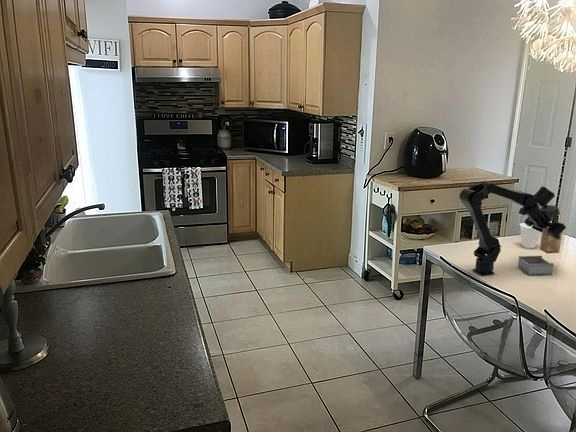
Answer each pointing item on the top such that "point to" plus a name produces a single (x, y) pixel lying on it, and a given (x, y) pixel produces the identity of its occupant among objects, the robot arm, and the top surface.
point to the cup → (529, 236)
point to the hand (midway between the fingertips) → (554, 236)
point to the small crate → (549, 242)
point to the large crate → (535, 265)
